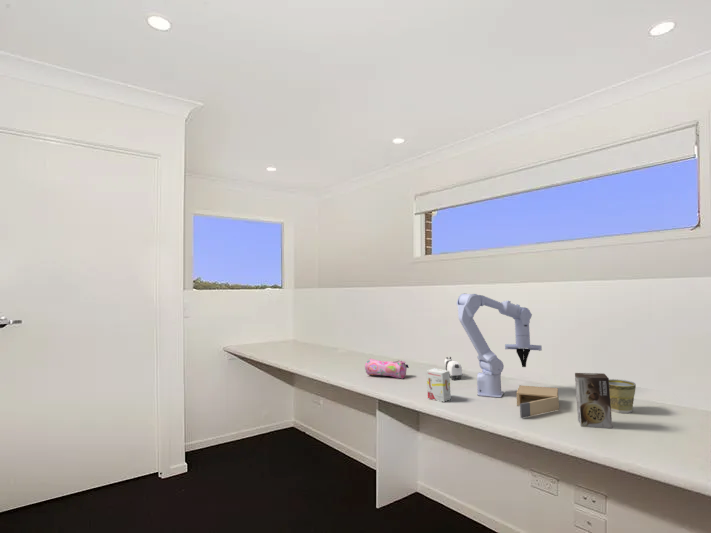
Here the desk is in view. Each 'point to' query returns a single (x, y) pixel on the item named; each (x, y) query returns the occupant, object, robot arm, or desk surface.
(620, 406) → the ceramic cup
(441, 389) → the ink box
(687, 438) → the desk surface
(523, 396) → the carton
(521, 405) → the carton flap
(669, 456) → the desk surface
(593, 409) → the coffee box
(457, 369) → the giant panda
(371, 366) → the pencil case
